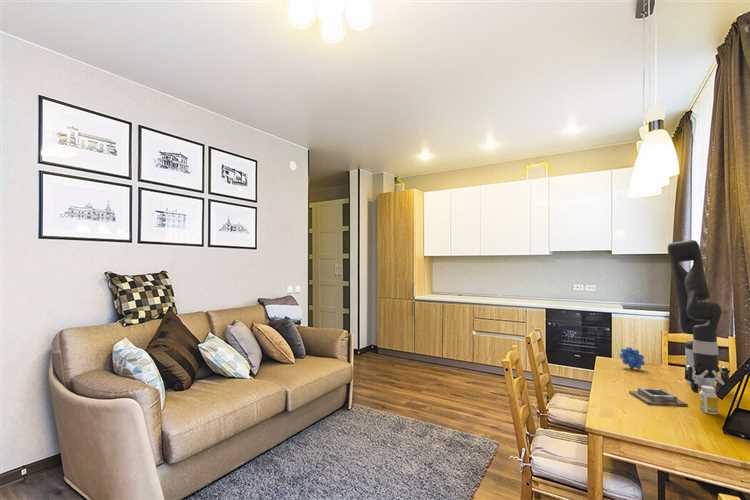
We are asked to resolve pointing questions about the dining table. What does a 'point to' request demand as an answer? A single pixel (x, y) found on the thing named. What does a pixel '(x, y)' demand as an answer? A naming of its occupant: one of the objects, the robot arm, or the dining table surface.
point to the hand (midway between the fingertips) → (707, 392)
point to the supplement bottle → (708, 400)
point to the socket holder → (657, 397)
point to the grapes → (632, 358)
